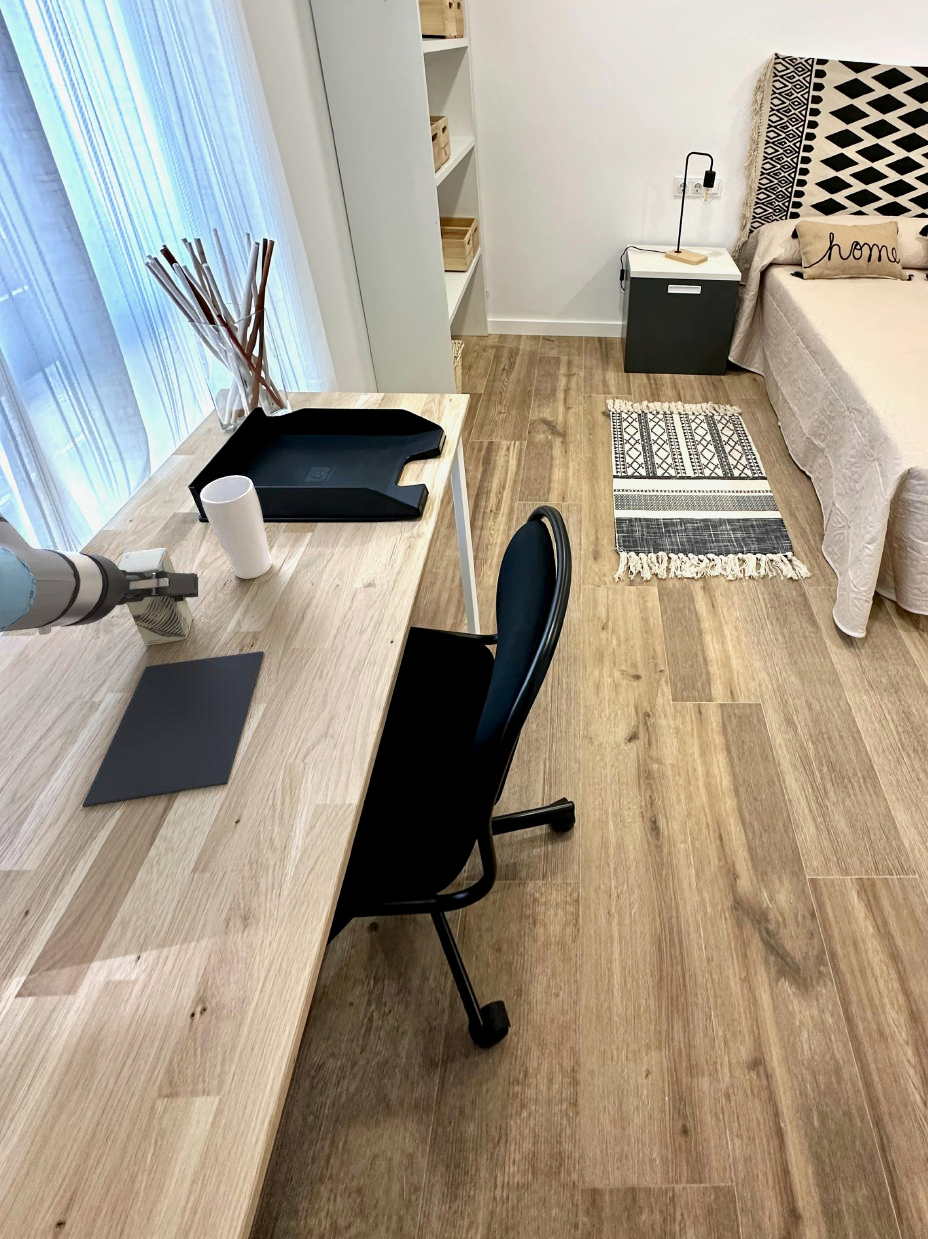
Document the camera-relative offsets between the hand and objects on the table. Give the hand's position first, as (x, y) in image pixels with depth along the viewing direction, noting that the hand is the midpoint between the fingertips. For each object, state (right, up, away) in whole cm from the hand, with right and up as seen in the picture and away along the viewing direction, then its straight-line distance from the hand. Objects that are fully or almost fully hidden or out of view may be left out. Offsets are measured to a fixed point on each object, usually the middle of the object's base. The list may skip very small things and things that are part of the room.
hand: (170, 589), depth 90 cm
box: (+1, -6, -1) cm, 6 cm away
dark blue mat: (+9, -13, -12) cm, 20 cm away
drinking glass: (+6, +1, +10) cm, 12 cm away
